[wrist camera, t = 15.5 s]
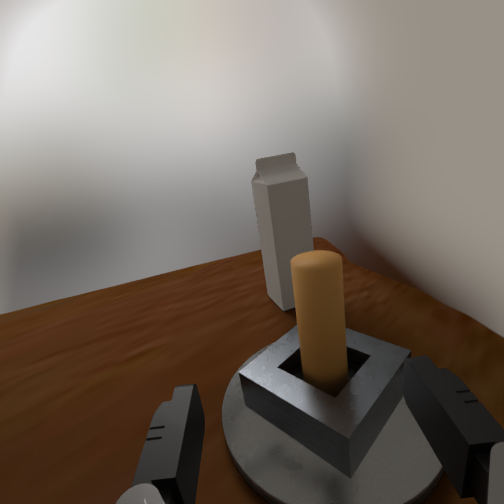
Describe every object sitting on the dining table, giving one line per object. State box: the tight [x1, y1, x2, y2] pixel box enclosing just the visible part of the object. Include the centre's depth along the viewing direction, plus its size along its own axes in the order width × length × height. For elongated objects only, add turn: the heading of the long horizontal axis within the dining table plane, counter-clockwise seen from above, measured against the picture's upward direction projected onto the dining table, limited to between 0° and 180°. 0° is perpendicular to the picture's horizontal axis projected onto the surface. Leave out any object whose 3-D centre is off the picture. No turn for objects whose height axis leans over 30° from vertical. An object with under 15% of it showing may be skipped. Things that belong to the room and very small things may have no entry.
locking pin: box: [290, 251, 348, 398], centre depth 28 cm, size 4×4×14 cm
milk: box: [251, 153, 314, 311], centre depth 48 cm, size 6×6×22 cm
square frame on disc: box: [222, 325, 445, 504], centre depth 30 cm, size 20×20×6 cm
